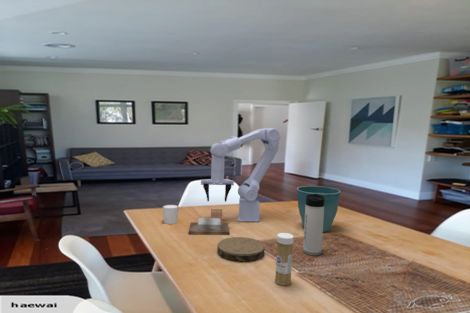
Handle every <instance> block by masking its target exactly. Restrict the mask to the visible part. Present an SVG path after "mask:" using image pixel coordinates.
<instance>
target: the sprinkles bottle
mask: <svg viewBox="0 0 470 313" xmlns="http://www.w3.org/2000/svg"><path fill="white" fill-rule="evenodd" d="M294 238H295V237H294V235H293V234H292V233H286V232H280V233H279V232H278V233H277V236H276V244H277V245H276V259H275V276H274V282H275V283H276V284H278V285H280V286H288V285H289V286H290V284H291V283H292V268H293V248H294V247H293V245H294V241H295V240H294Z"/></svg>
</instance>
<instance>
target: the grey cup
mask: <svg viewBox="0 0 470 313" xmlns="http://www.w3.org/2000/svg"><path fill="white" fill-rule="evenodd" d="M162 215H163V223H164V224H166V225H174V224H177V222H178V217H179V205H176V204H165V205H163V206H162Z"/></svg>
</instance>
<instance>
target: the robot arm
mask: <svg viewBox="0 0 470 313" xmlns="http://www.w3.org/2000/svg"><path fill="white" fill-rule="evenodd" d="M280 139H281V135H280V132H279V130H278V129H277V128H276V127H262V128H257V129H255V130H254V131H251V132H248V133H246V134H244V135H242V136H239V137H237V136H233V135H232V136H229V138H227V139H225V140H220V141H219V143H218V142H216V143H213V144H212V145H211V147H210V149H209V151H210V154H211V165H210V168H211V170H210V173H211V174H210V179H200V185H202V187H203V189H204V192H205V195H206V201H207V202H210V186H211V185H212V186H213V185H215V186H216V185H217V186H225V187H224V189H225V190H224V191H225V193H224V202H227V199H228V197H229V193H230V191H231V189H232V186H234V185H235V180H233V179H232V180H231V179H230V180H229V179H225V158H226V155H227V154H230V153H232V152H234V151H236V150H238V149H240V148H241V147H242V145H244V144H247V143H250V142H253V141H255V140H260V141H261V143H262V144H263V146H264V151H263V153H262V154H261V156H260V158H259V160H258V162H257V164H256V165H255V167H254V169H252V172H251V174H250V175H249V177H248V178H247V179H245V180H244V182H243V183H242V184H240V185H239V186H238V190H237V194H238V196H239V201H238V202H239V203H238V206H239V207H238V215H237V221H238V222H257V223H258V222H259V223H260V215H261V214H260V213H261V211H260V210H261V208H260V207H261V206H260V205H261V203H260V200H256V199H257V198H258V193H259V190H260V183H261V182H262V179H263V178H264V176H265V174H266V172H267V170H268V169H269V167H270V165H271V163H272V162H273V160H274V158H275V157H276V155H277V153H278V151H279V141H280Z"/></svg>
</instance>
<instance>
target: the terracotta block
mask: <svg viewBox="0 0 470 313" xmlns="http://www.w3.org/2000/svg"><path fill="white" fill-rule="evenodd" d="M210 218H220V222H221V223H223V209H222V208H220V209H219V208H211V209H210Z"/></svg>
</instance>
